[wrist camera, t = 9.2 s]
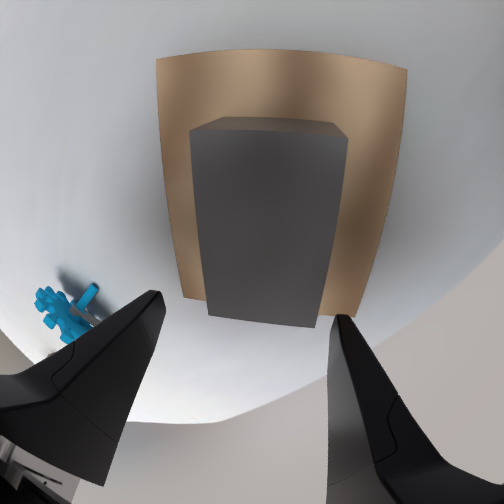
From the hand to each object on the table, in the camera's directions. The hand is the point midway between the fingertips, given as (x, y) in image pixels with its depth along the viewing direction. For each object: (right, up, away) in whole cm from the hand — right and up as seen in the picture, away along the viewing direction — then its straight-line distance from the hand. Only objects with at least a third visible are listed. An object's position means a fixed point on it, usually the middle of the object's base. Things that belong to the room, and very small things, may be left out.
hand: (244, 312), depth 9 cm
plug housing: (+2, +5, +7) cm, 9 cm away
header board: (+2, +5, +8) cm, 10 cm away
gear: (-18, -4, +19) cm, 26 cm away
